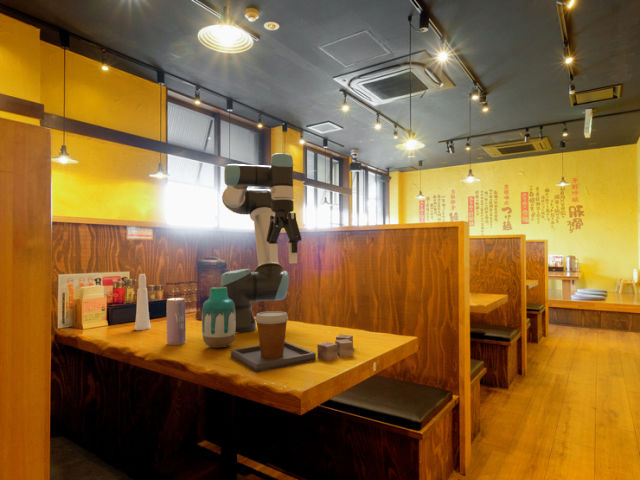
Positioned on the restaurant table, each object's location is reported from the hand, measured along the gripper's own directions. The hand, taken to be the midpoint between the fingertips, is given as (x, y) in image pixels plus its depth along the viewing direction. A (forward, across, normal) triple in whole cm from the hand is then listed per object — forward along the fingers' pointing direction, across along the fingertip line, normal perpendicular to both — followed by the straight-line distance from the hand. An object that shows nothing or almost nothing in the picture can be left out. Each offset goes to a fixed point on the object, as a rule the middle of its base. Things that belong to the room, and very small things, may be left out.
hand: (283, 262), depth 131 cm
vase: (+27, -7, -20) cm, 34 cm away
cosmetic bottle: (+27, -55, -35) cm, 71 cm away
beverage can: (+27, -21, -30) cm, 45 cm away
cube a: (+27, +24, +1) cm, 36 cm away
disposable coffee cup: (+26, +15, -12) cm, 32 cm away
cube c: (+27, +19, +11) cm, 35 cm away
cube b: (+27, +24, +7) cm, 37 cm away
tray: (+27, +15, -12) cm, 33 cm away
